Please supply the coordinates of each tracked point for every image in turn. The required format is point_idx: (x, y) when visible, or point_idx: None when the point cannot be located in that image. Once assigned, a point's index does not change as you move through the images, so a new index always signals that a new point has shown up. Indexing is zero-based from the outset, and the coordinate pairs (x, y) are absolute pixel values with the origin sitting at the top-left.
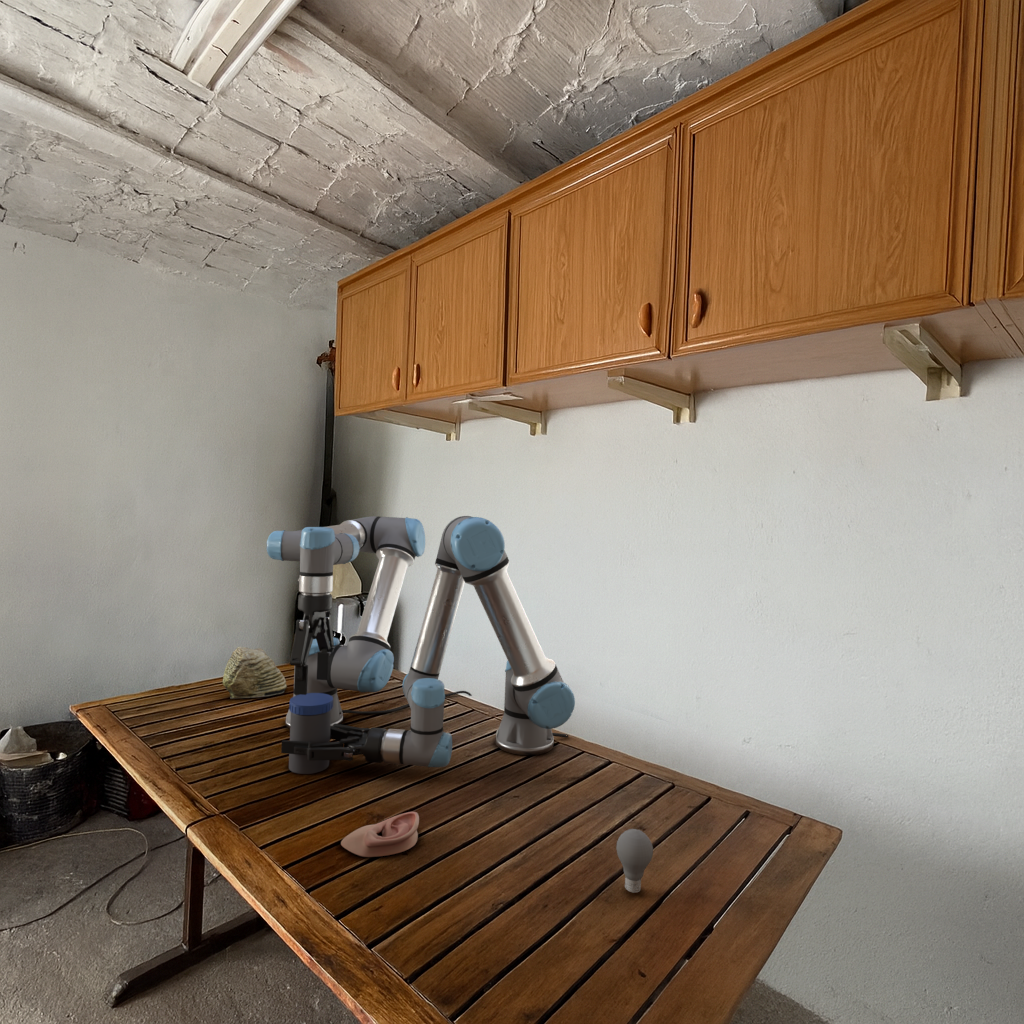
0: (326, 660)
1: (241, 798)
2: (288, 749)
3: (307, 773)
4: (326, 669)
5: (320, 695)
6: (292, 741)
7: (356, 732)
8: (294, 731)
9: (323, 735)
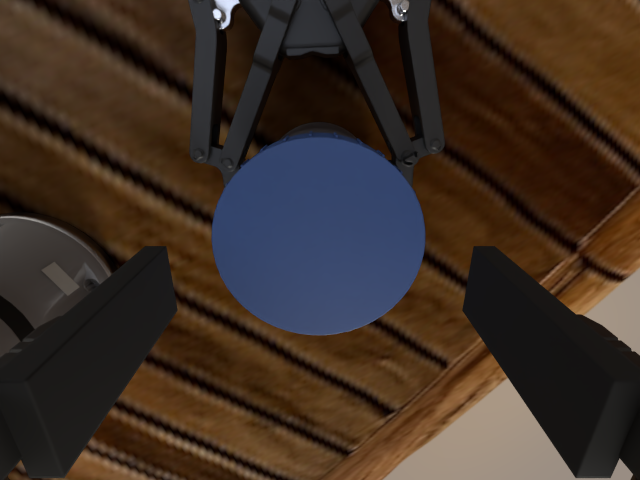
0: (84, 340)
1: (509, 244)
2: None
3: None
4: (130, 289)
5: (249, 230)
6: None
7: (269, 22)
8: None
9: (350, 137)
